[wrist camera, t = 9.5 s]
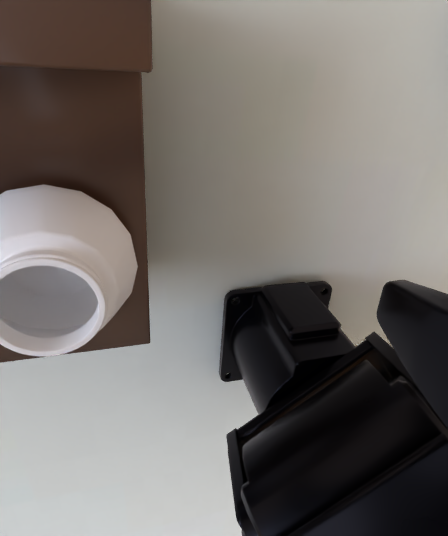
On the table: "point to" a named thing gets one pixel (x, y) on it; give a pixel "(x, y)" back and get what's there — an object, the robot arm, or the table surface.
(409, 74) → the table surface
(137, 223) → the toy sofa
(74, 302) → the lidless jar
